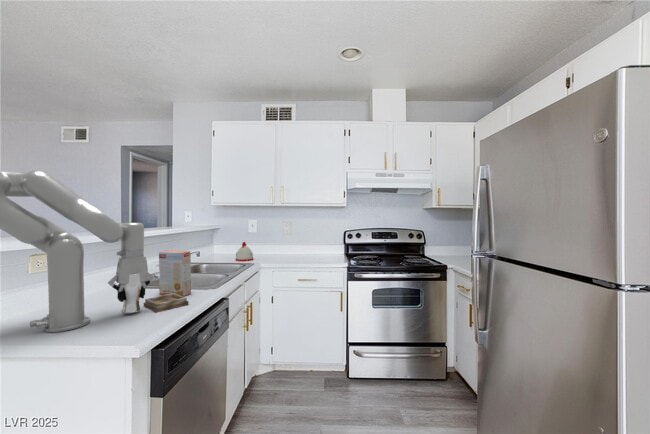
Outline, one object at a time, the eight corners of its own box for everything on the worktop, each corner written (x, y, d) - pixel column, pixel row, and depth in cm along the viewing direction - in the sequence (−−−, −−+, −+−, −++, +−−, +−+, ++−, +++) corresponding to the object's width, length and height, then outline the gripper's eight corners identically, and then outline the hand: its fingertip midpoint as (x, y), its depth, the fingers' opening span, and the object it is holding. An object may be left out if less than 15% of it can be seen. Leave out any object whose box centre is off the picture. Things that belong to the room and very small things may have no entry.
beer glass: (117, 314, 115) (118, 274, 115) (124, 308, 122) (125, 271, 122) (138, 313, 117) (139, 274, 117) (143, 307, 124) (144, 271, 124)
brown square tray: (155, 312, 120) (155, 305, 120) (143, 306, 129) (143, 299, 128) (188, 304, 130) (188, 297, 130) (174, 299, 138) (174, 292, 138)
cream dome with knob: (233, 261, 243) (232, 242, 242) (239, 258, 256) (239, 241, 256) (250, 261, 241) (249, 242, 241) (255, 258, 255) (255, 241, 255)
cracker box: (191, 293, 147) (191, 250, 147) (182, 297, 142) (181, 252, 141) (168, 291, 152) (168, 249, 151) (158, 294, 146) (158, 251, 145)
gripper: (109, 256, 110) (108, 306, 110) (159, 253, 124) (158, 297, 124) (103, 254, 115) (102, 302, 115) (152, 251, 129) (151, 293, 128)
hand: (131, 299), depth 119 cm, fingers closed on beer glass, 6 cm apart
